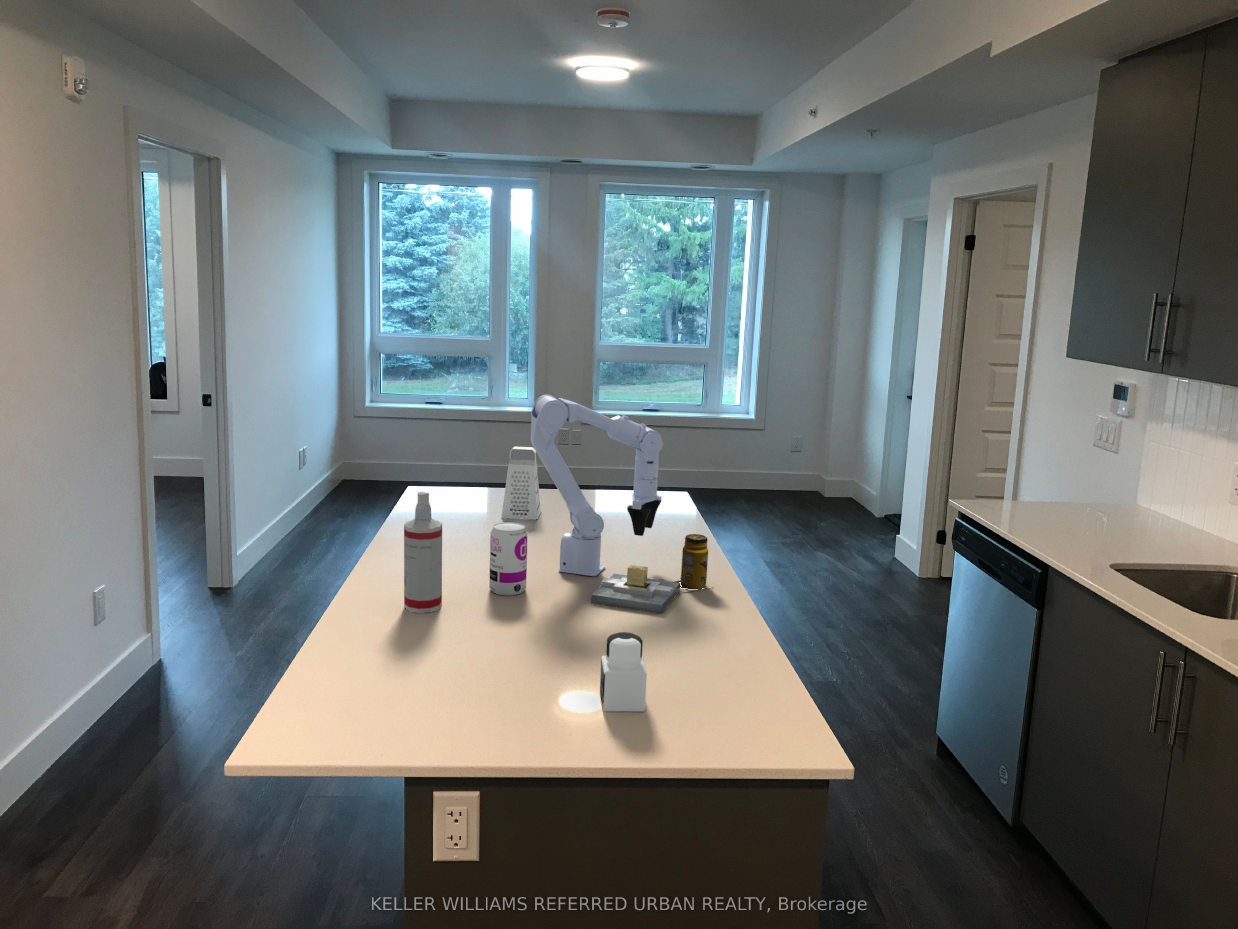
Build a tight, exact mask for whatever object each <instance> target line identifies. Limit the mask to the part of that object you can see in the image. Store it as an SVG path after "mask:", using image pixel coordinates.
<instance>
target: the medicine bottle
mask: <svg viewBox="0 0 1238 929" xmlns="http://www.w3.org/2000/svg"><path fill="white" fill-rule="evenodd" d="M643 644H644V641H643V639H642V638H641V637H640V636H639V635H638V634H635V633H632V632H627V631H619V632H615V633H612V634H610V635H609V636H608V637H607V638H606V649H605V650H606V653H605V654H606V655H602V656H601V659H600V678H599V679H600V680H599V682H600V683H599V684H600V685H599V696H600V703H601V710H602V712H605V713H606V712H611V713H613V712H617V713H618V712H619V713H621V712H622V713H623V712H626V713H627V712H628V713H629V712H632V713H635V712H636V713H637V712H638V713H641V712H642V713H643V712H645V710H646V695H647V676H648V673H647V669H646V666H645V665H646V664H645V662H644V658H643V647H644V646H643Z"/></svg>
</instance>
